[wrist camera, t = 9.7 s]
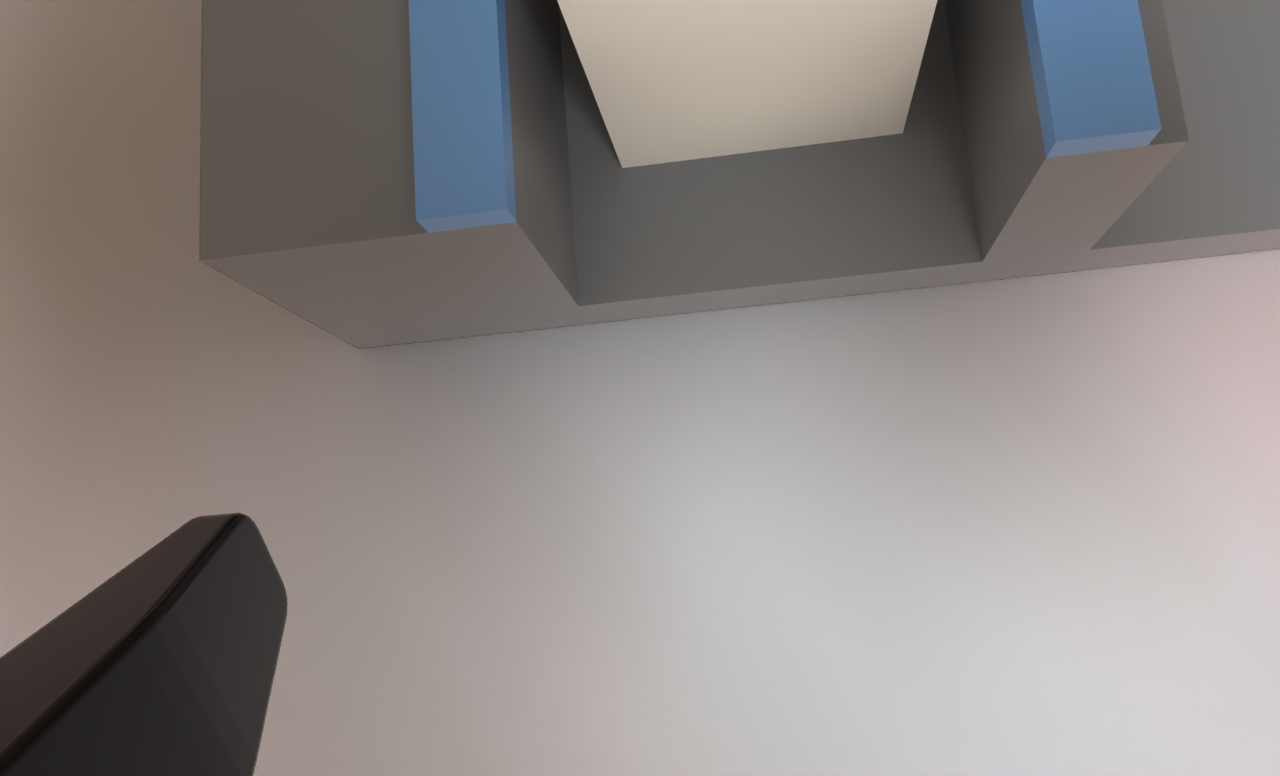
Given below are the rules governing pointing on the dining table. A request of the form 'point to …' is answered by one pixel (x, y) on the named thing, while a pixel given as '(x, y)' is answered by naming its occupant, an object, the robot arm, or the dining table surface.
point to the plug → (747, 72)
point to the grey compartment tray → (712, 165)
